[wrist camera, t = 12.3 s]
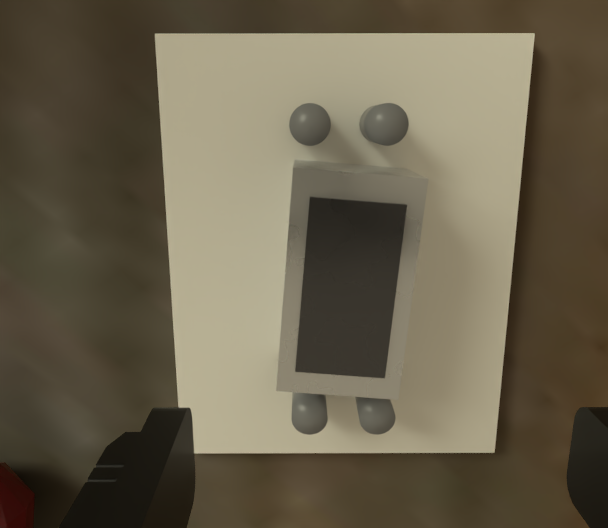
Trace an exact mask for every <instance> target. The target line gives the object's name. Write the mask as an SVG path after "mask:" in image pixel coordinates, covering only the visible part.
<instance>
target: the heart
mask: <svg viewBox="0 0 608 528" xmlns="http://www.w3.org/2000/svg"><path fill="white" fill-rule="evenodd" d="M34 496H35V494H34V493H33V492H32V490H31V489H30V488H29V487H28V486H27V485H26V484H25V483H24V482H23V481H22V480H21V479H20V478H19V477H18V476H17V475H16V473H15V472H14V471H13V470H12V469H11V468H10V467H9V466H8V465H7V464H6V463H0V528H33V522H34Z"/></svg>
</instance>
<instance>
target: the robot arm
mask: <svg viewBox="0 0 608 528" xmlns="http://www.w3.org/2000/svg"><path fill="white" fill-rule="evenodd" d="M567 486H568V491H569V494H570V497H571V500H572V502H573V504H574V506H575V507H576V509H577V510H578V512H579V513H580V514H581V516H582V517H583V519H584V520H585V521H586V523H587V524H588V526H589V527H590V528H608V407H582V408H580V409H579V410H578V411H577V413H576V415H575V419H574V425H573V433H572V440H571V447H570V454H569V461H568V469H567ZM194 492H195V460H194V441H193V423H192V413H191V409H190V408H153V409H152V410H151V412H150V414H149V416H148V418H147V420H146V422H145V424H144V426H143V428H142V430H141V432H125V433H124V434H122V435H121V436H120V437H119V438H117V439H116V440H115V441H113V442H112V443H111V444H110V445H108V446H107V447H106V449H105V450H104V452H103V454H102V455H101V457H100V459H99V460H98V462H97V464H96V468H94V469H93V471H92V472H91V474H90V476H89V477H88V482H86V483H85V484H84V486H83V488H82V489H81V491H80V493H79V494H78V496H77V498H76V500H75V501H74V503H73V505H72V506H71V508H70V510H69V512H68V513H67V515H66V517H65V518H64V520H63V522H62V523H61V525H60V527H59V528H187V524H188V520H189V517H190V513H191V509H192V505H193V500H194Z"/></svg>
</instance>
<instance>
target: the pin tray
mask: <svg viewBox="0 0 608 528" xmlns="http://www.w3.org/2000/svg"><path fill="white" fill-rule="evenodd" d="M534 37H535V33H330V34H155V46H156V61H157V77H158V93H159V108H160V124H161V140H162V155H163V171H164V187H165V202H166V218H167V234H168V249H169V265H170V281H171V296H172V312H173V328H174V343H175V359H176V375H177V390H178V406H179V408H190V409H191V413H192V423H193V441H194V453H495V443H496V433H497V422H498V412H499V402H500V391H501V381H502V370H503V360H504V349H505V339H506V329H507V318H508V308H509V297H510V287H511V276H512V266H513V256H514V245H515V235H516V224H517V214H518V203H519V193H520V183H521V172H522V162H523V151H524V141H525V130H526V120H527V110H528V99H529V89H530V78H531V68H532V57H533V47H534ZM295 159H297V160H309V161H321V162H334V163H346V164H358V165H370V166H382V167H394V168H406V169H409V170H411V171H413V172H415V173H417V174H420V175H422V176H424V177H426V178H428V186H427V194H426V201H425V208H424V216H423V223H422V230H421V238H420V245H419V252H418V260H417V267H416V274H415V282H414V289H413V296H412V304H411V311H410V318H409V326H408V333H407V340H406V348H405V355H404V362H403V370H402V377H401V384H400V392H399V399H398V400H393V399H379V398H365V397H351V396H338V395H324V394H310V393H296V392H283V391H276V386H277V373H278V360H279V347H280V333H281V320H282V307H283V293H284V280H285V267H286V254H287V240H288V227H289V214H290V200H291V187H292V174H293V165H294V160H295Z"/></svg>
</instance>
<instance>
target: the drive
mask: <svg viewBox="0 0 608 528" xmlns="http://www.w3.org/2000/svg"><path fill="white" fill-rule="evenodd" d="M427 186H428V178H426V177H424V176H422V175H420V174H417V173H415V172H413V171H411V170H409V169H406V168H394V167H382V166H370V165H358V164H346V163H334V162H321V161H309V160H297V159H295V160H294V165H293V174H292V187H291V200H290V214H289V227H288V240H287V254H286V267H285V280H284V293H283V307H282V320H281V333H280V347H279V360H278V373H277V386H276V391H283V392H296V393H310V394H324V395H338V396H351V397H365V398H379V399H393V400H398V399H399V392H400V384H401V377H402V370H403V362H404V355H405V348H406V340H407V333H408V326H409V318H410V311H411V304H412V296H413V289H414V282H415V274H416V267H417V260H418V252H419V245H420V238H421V230H422V223H423V216H424V208H425V201H426V194H427Z"/></svg>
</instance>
